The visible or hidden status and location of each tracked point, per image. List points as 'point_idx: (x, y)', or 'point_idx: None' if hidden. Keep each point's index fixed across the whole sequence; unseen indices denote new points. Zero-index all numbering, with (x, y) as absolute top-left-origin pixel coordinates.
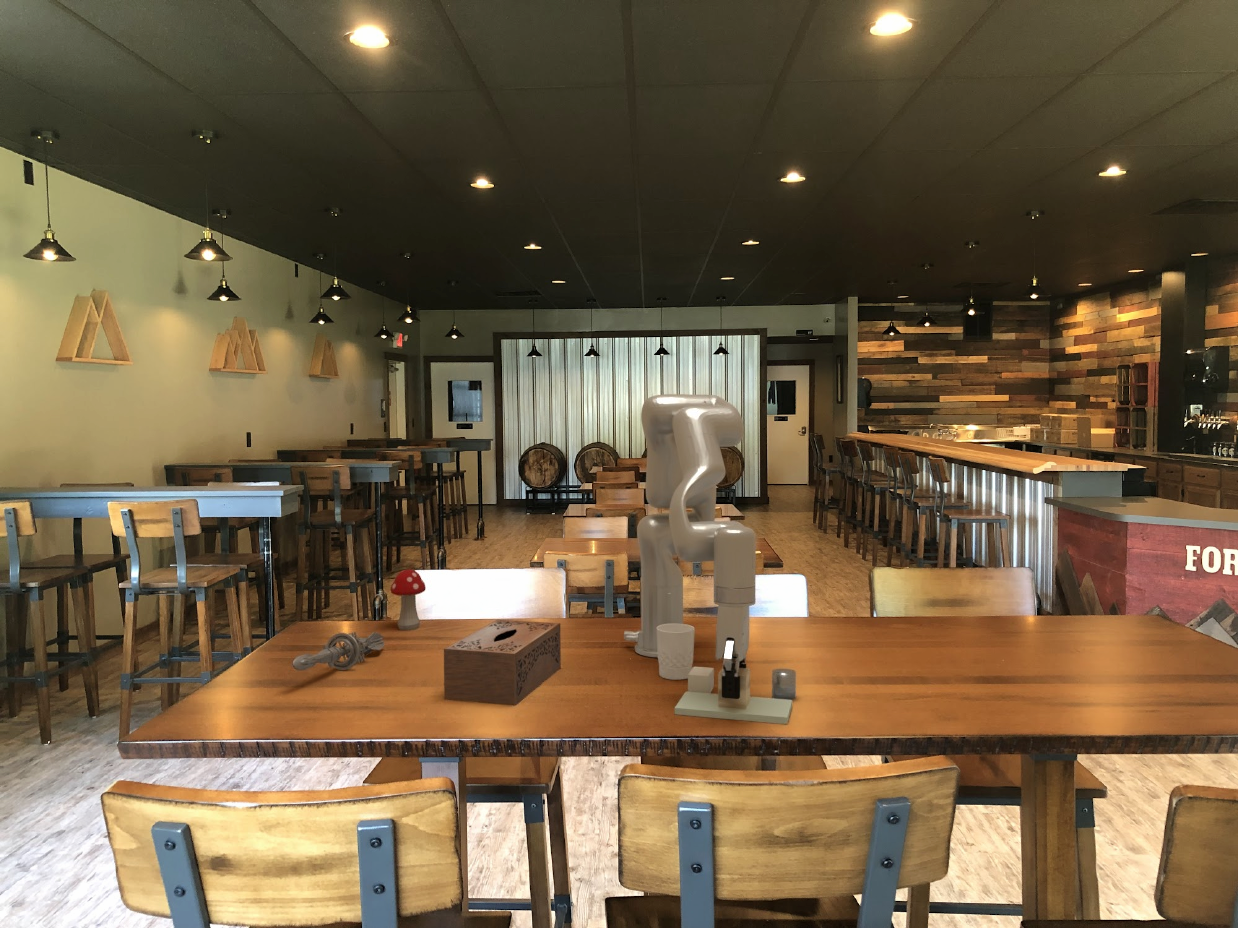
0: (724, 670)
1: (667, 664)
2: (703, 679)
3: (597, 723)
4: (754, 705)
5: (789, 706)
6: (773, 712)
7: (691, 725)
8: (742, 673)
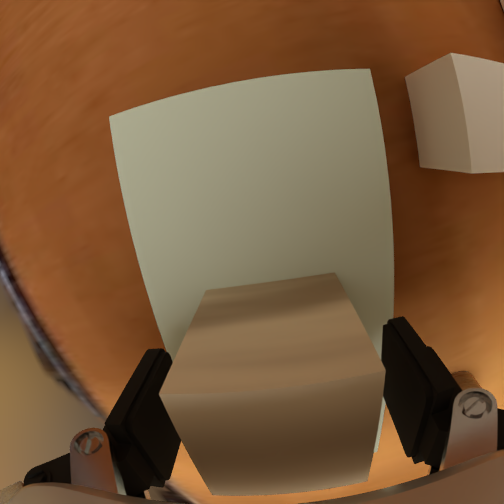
0: (40, 465)
1: None
2: (457, 143)
3: (7, 4)
4: None
5: None
6: None
7: (57, 230)
8: (253, 482)
